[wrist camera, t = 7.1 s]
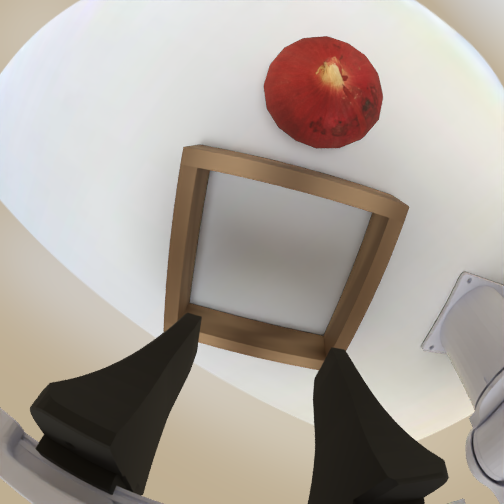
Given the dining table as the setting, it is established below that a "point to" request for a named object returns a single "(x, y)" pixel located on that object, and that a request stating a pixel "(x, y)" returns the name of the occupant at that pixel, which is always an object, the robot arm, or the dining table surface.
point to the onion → (323, 92)
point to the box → (254, 332)
